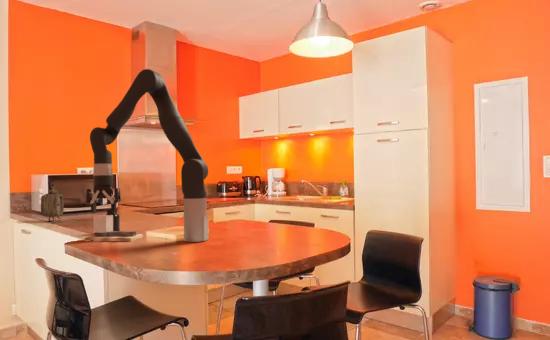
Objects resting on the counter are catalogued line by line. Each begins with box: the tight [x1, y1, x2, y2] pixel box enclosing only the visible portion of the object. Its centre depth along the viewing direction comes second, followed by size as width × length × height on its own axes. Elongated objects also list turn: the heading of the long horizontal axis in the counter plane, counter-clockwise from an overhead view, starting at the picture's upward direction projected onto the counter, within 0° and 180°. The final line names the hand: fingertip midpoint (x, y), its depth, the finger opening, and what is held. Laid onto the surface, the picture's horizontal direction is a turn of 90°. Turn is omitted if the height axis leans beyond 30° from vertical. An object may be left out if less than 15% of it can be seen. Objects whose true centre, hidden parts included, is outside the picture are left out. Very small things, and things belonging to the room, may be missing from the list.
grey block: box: [92, 214, 113, 233], centre depth 168 cm, size 6×6×7 cm
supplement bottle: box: [105, 207, 121, 231], centre depth 186 cm, size 7×7×12 cm
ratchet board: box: [84, 230, 144, 242], centre depth 167 cm, size 20×11×8 cm, turn 84°
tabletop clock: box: [40, 181, 65, 222], centre depth 249 cm, size 14×9×25 cm, turn 12°
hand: (103, 212), depth 168 cm, fingers open, 8 cm apart
